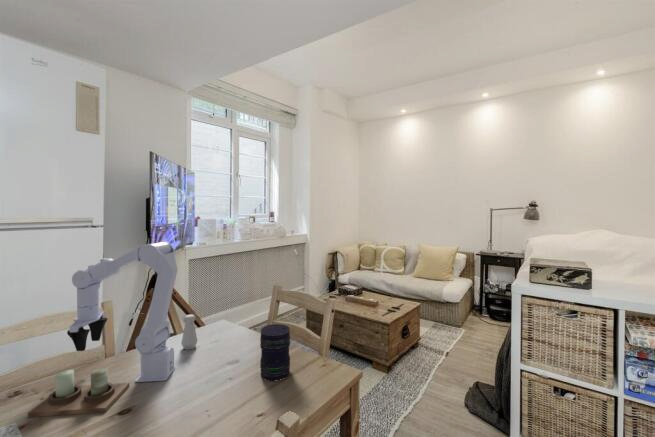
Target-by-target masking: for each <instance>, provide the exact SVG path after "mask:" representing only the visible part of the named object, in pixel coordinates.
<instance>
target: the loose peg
mask: <svg viewBox="0 0 655 437" xmlns="http://www.w3.org/2000/svg"><path fill="white" fill-rule="evenodd" d="M54 377H55V391H56V399H57V398H64V397H67V396H70V395H72V394H74V385H75V370H74V369H65V370H62V371H60V372H57V373H56V374H55V376H54Z"/></svg>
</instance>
